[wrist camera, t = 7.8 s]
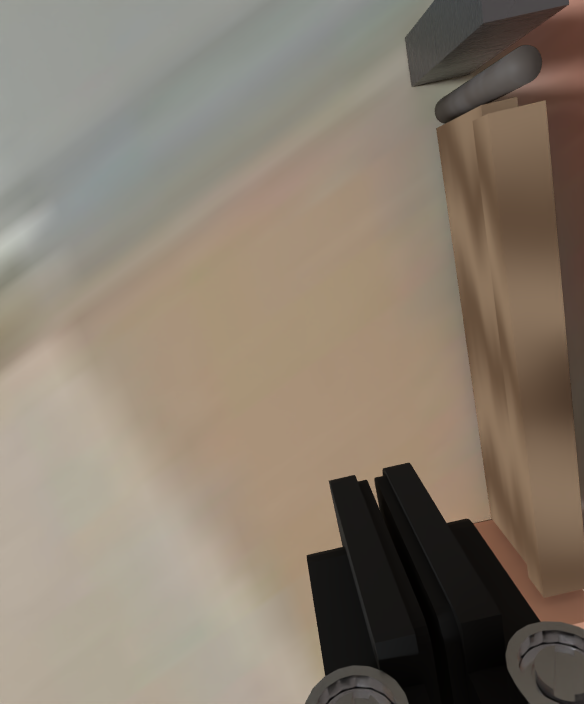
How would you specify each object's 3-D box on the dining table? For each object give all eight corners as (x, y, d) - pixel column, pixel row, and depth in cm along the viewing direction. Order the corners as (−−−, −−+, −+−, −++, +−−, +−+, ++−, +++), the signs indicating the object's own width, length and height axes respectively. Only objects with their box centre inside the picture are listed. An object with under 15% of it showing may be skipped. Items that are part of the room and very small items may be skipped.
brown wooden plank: (423, 102, 21) (491, 52, 15) (466, 92, 21) (554, 38, 15) (483, 516, 26) (553, 610, 20) (518, 508, 26) (599, 600, 20)
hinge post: (404, 37, 20) (476, -53, 14) (464, 25, 20) (564, -72, 14) (411, 86, 21) (483, 23, 14) (469, 73, 21) (568, 4, 14)
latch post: (471, 524, 26) (544, 630, 19) (517, 514, 26) (606, 617, 19) (475, 553, 27) (547, 668, 20) (520, 544, 27) (608, 655, 20)
